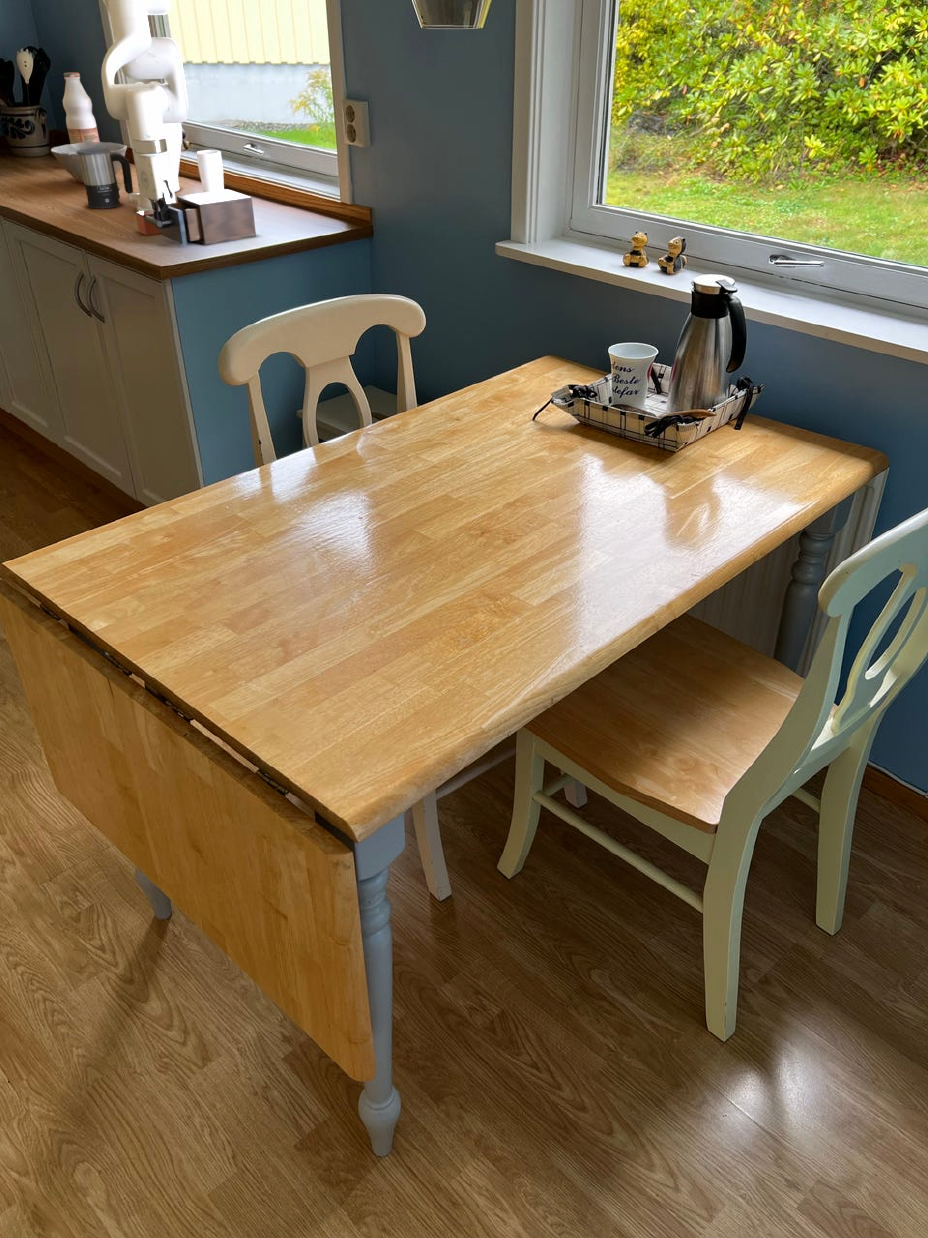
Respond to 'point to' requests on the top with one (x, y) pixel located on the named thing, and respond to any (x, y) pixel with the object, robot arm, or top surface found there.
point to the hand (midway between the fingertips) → (163, 227)
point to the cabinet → (223, 215)
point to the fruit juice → (78, 111)
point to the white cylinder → (210, 170)
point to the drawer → (180, 223)
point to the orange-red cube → (146, 223)
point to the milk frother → (103, 176)
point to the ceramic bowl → (71, 158)
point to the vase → (172, 145)
